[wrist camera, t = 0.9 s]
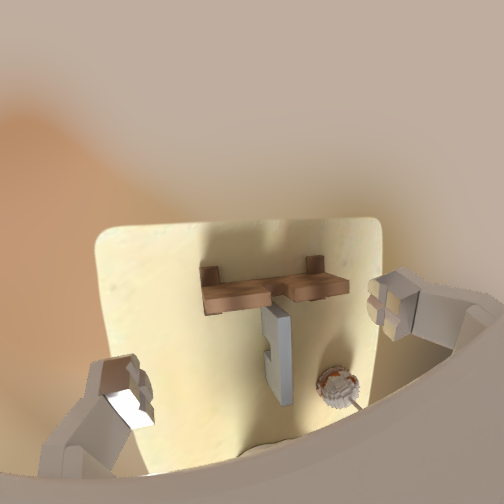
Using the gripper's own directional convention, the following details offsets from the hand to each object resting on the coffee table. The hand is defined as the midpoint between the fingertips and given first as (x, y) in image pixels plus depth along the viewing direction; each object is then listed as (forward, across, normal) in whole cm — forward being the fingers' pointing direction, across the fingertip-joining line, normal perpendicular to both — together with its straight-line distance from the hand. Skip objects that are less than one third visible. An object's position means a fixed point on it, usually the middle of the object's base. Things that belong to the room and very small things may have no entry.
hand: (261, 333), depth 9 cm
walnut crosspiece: (+36, +9, -21) cm, 43 cm away
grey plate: (+33, +7, -32) cm, 46 cm away
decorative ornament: (+29, +18, -46) cm, 57 cm away
